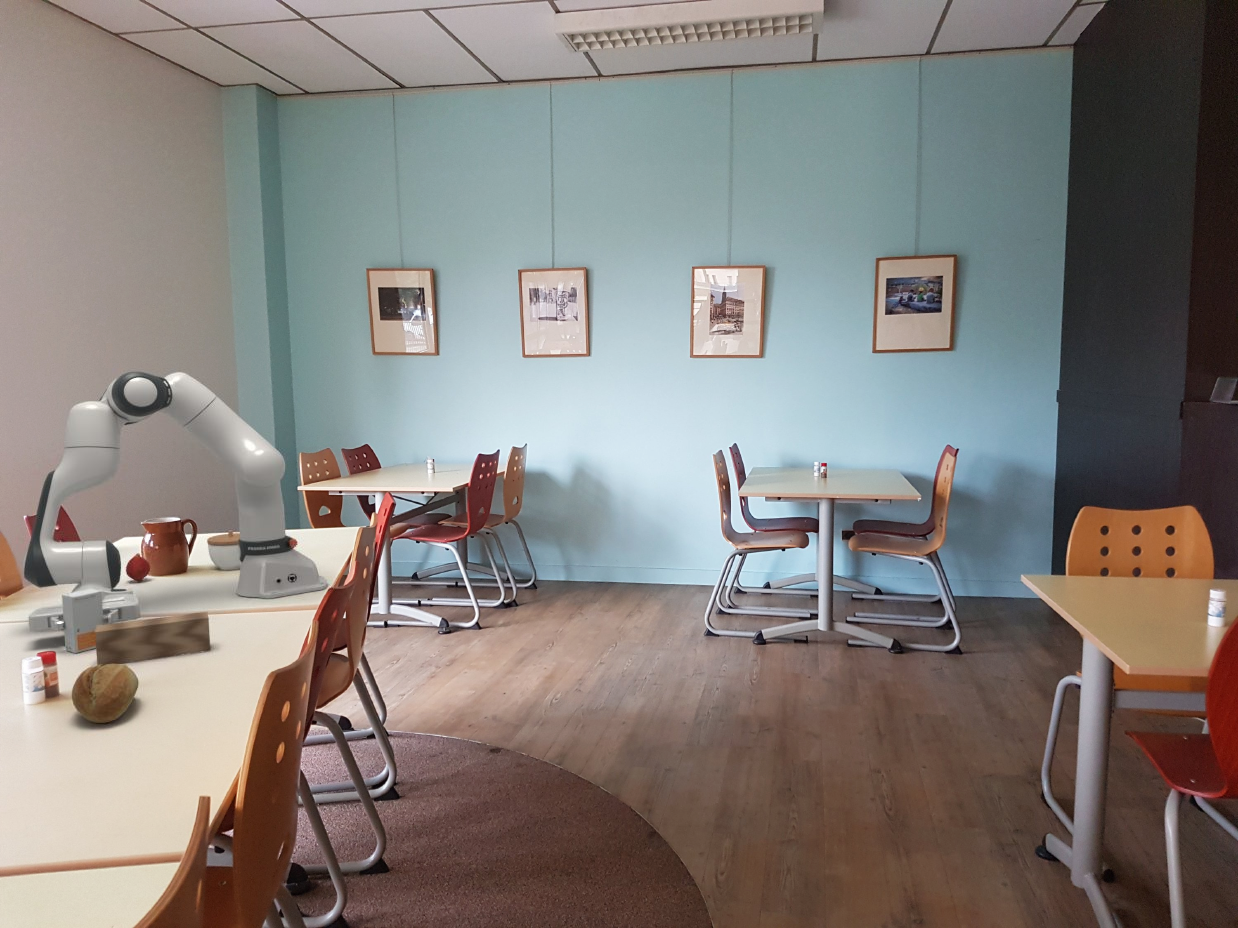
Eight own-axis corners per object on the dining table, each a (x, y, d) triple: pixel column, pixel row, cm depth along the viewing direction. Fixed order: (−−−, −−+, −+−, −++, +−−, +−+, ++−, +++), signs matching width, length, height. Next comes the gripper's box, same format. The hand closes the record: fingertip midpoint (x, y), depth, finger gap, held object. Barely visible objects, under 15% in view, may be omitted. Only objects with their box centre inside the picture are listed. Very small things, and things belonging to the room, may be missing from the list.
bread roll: (68, 734, 134) (64, 686, 133) (78, 702, 148) (75, 658, 147) (137, 722, 139) (134, 676, 138) (141, 692, 152) (138, 649, 151)
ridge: (209, 643, 179) (207, 611, 178) (210, 650, 174) (208, 617, 174) (99, 659, 169) (96, 625, 169) (97, 666, 165) (94, 632, 164)
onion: (126, 585, 229) (124, 556, 228) (127, 580, 234) (125, 552, 233) (150, 582, 231) (148, 554, 231) (151, 578, 237) (149, 550, 236)
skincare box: (75, 654, 173) (71, 597, 171) (65, 650, 175) (60, 594, 174) (106, 645, 178) (102, 590, 176) (95, 642, 180) (91, 587, 179)
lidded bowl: (264, 565, 251) (262, 529, 250) (225, 574, 240) (223, 536, 239) (239, 560, 258) (237, 525, 257) (200, 569, 247) (197, 532, 246)
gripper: (31, 599, 182) (21, 615, 170) (139, 587, 191) (137, 602, 179) (33, 628, 183) (24, 646, 170) (141, 614, 192) (139, 630, 180)
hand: (83, 623), depth 175 cm, fingers closed on skincare box, 7 cm apart
